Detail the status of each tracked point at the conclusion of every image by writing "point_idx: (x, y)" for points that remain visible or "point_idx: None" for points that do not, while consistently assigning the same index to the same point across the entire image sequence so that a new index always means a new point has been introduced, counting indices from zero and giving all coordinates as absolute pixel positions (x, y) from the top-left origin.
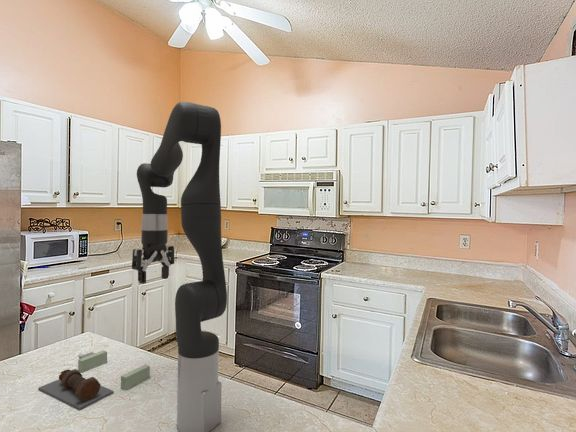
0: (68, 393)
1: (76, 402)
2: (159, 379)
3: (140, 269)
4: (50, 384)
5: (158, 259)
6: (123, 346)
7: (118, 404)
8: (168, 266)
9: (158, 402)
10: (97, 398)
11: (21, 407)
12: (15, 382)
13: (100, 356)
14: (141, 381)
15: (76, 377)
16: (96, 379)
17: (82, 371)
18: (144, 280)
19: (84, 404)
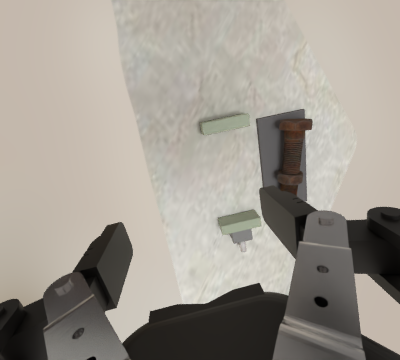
0: None
1: None
2: (191, 105)
3: (350, 224)
4: None
5: (183, 319)
6: (175, 255)
7: (267, 82)
8: (73, 275)
9: (229, 36)
10: (280, 115)
11: (332, 170)
12: None
13: (231, 222)
14: (215, 119)
15: (297, 160)
16: (292, 122)
17: (253, 210)
18: (276, 189)
19: (296, 113)
